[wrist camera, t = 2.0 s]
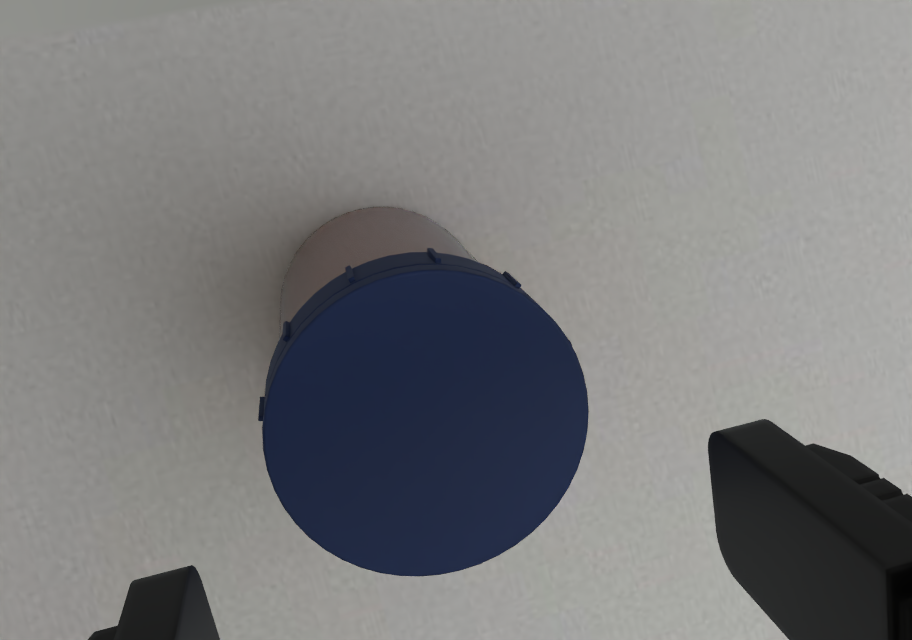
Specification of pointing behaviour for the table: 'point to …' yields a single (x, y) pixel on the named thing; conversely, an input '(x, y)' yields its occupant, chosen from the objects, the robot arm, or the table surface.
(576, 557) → the table surface
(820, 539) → the robot arm
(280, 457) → the lid
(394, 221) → the jar
